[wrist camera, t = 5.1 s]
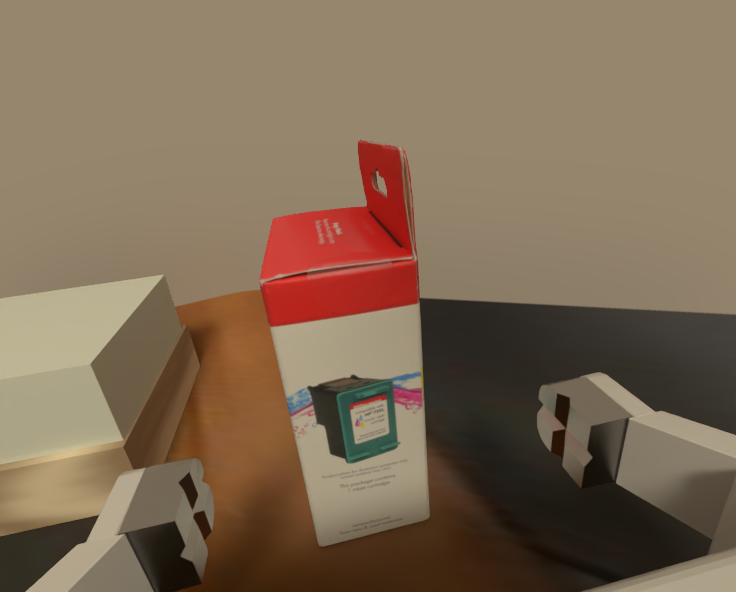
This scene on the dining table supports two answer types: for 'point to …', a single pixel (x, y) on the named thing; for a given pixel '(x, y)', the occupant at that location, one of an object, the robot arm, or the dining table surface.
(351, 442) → the ink box
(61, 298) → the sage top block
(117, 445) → the maple base block
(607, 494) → the dining table surface
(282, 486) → the dining table surface
